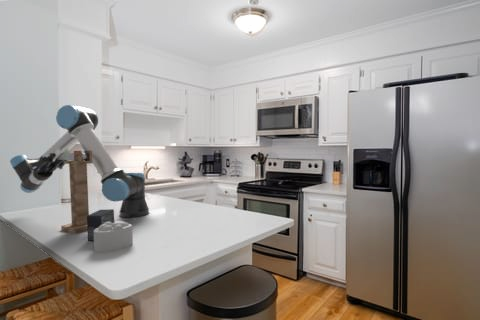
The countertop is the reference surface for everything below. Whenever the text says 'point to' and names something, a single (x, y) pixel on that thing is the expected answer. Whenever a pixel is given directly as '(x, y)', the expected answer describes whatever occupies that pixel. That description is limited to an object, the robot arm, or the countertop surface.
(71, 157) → the lever
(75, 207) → the stand
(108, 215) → the small box
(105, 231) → the grey rounded container
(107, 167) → the robot arm
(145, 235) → the countertop surface
